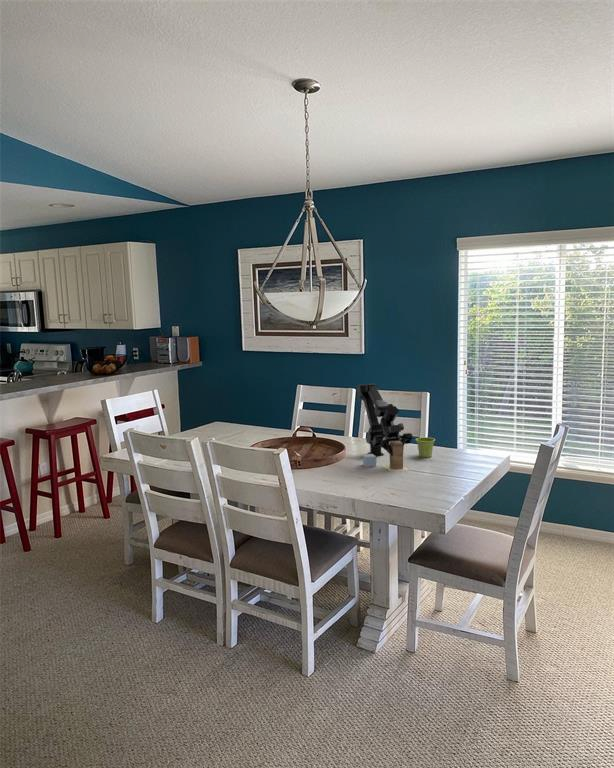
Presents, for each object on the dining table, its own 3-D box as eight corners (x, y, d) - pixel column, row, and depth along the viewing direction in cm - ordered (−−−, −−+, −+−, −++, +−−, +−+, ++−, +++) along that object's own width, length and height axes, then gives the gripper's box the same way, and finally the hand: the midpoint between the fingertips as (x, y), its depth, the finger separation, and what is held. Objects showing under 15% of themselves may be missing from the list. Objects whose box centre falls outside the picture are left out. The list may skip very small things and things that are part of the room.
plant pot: (426, 459, 290) (426, 442, 289) (412, 456, 297) (411, 439, 296) (438, 456, 296) (438, 439, 295) (424, 452, 303) (424, 436, 302)
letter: (381, 465, 283) (381, 464, 283) (398, 463, 285) (398, 462, 285) (390, 471, 272) (390, 471, 272) (408, 469, 274) (408, 469, 274)
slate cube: (363, 465, 285) (362, 454, 284) (372, 464, 286) (372, 454, 285) (366, 467, 280) (366, 457, 279) (376, 466, 281) (376, 456, 280)
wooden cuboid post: (389, 466, 279) (389, 441, 278) (399, 465, 280) (399, 441, 279) (393, 469, 275) (393, 444, 273) (403, 468, 276) (402, 443, 274)
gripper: (374, 419, 276) (382, 447, 267) (411, 416, 280) (421, 444, 271) (368, 432, 285) (377, 460, 276) (405, 429, 289) (414, 456, 280)
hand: (397, 455), depth 275 cm, fingers closed on wooden cuboid post, 5 cm apart
